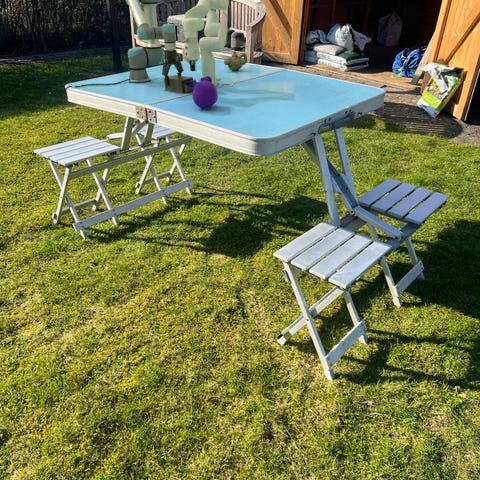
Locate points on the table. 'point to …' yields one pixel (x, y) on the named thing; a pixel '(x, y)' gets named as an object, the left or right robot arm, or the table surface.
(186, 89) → the drawer
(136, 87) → the table surface
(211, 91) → the toy
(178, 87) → the brown block
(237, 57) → the teapot
